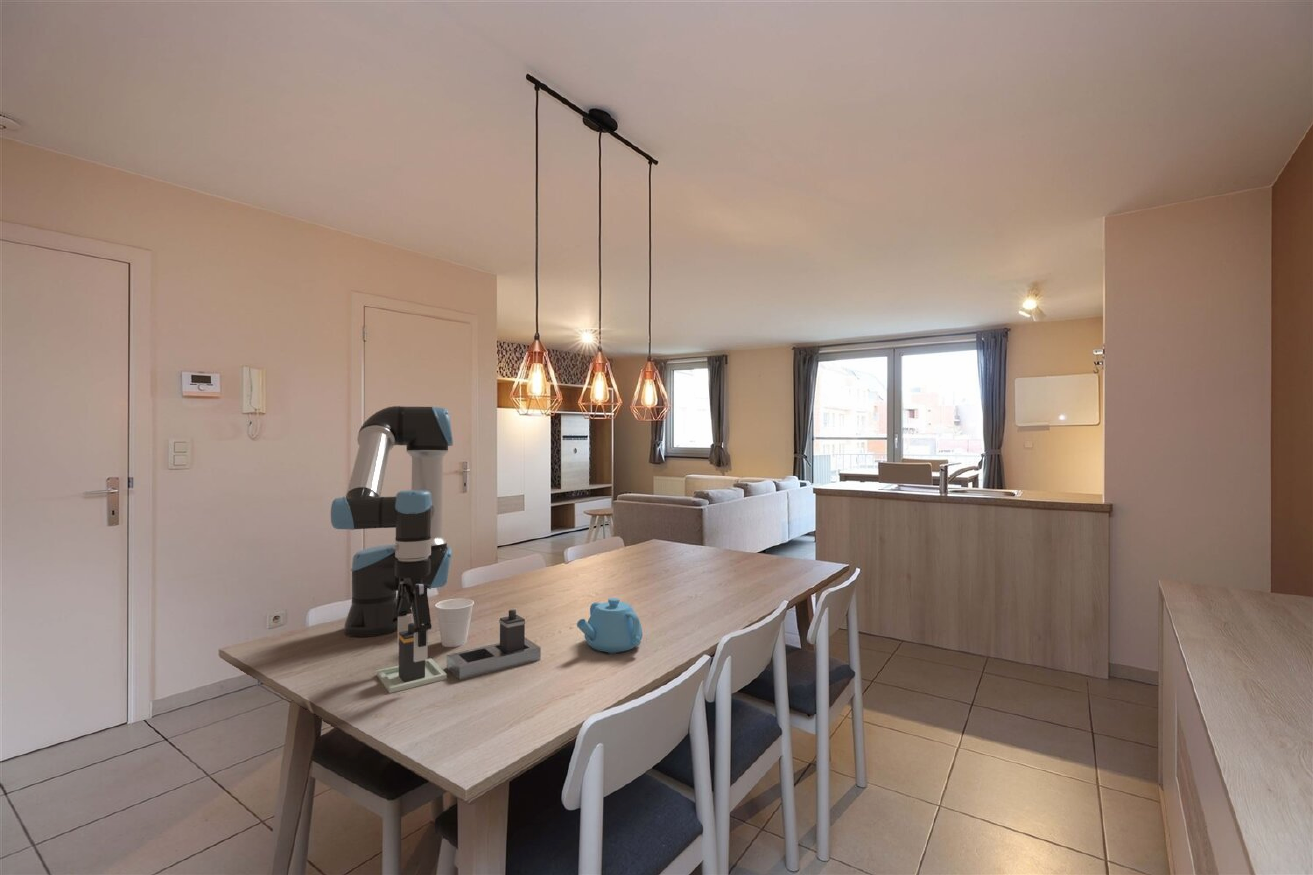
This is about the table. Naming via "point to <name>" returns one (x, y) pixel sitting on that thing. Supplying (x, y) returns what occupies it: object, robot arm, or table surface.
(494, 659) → the strip
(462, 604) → the cup
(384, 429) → the robot arm
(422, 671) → the plug
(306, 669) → the table surface
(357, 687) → the table surface
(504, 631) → the twin plug
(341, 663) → the table surface
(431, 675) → the tray
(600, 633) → the teapot
